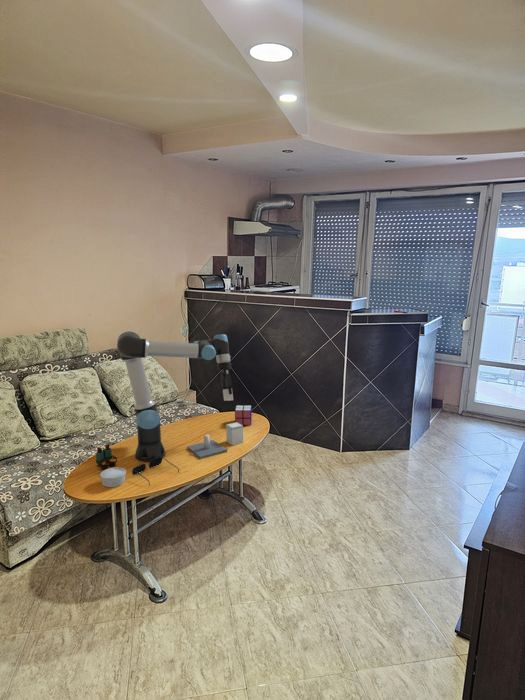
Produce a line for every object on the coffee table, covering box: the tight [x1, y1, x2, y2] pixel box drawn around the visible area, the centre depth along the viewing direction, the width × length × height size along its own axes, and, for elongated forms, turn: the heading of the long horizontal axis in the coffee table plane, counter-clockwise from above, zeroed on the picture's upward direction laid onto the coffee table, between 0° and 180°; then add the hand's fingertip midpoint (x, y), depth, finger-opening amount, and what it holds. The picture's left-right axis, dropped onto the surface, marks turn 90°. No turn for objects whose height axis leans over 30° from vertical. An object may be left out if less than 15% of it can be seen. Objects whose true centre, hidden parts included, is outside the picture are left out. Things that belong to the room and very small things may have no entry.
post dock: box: [186, 434, 228, 460], centre depth 235 cm, size 16×16×8 cm
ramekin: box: [99, 466, 127, 488], centre depth 200 cm, size 11×11×5 cm
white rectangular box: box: [225, 421, 244, 446], centre depth 246 cm, size 7×7×10 cm
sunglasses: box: [131, 457, 180, 486], centre depth 208 cm, size 17×15×5 cm
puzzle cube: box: [234, 405, 253, 426], centre depth 275 cm, size 10×10×10 cm
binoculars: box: [95, 443, 118, 471], centre depth 215 cm, size 9×11×10 cm
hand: (228, 400), depth 239 cm, fingers open, 13 cm apart
